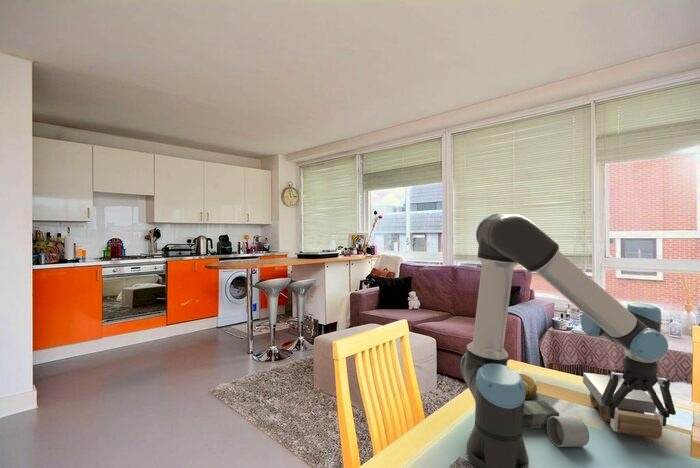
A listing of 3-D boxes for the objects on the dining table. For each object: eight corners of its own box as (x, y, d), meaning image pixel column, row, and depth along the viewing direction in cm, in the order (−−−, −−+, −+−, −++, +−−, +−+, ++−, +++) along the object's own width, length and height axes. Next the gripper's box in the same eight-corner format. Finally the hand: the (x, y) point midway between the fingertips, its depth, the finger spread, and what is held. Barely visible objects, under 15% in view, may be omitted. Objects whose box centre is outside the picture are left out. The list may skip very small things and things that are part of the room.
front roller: (644, 429, 108) (645, 410, 108) (606, 424, 111) (607, 405, 110) (634, 418, 114) (635, 400, 113) (598, 413, 117) (599, 395, 116)
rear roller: (631, 415, 116) (632, 397, 115) (596, 410, 118) (597, 392, 118) (622, 405, 122) (623, 388, 121) (589, 400, 124) (590, 384, 124)
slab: (601, 406, 110) (602, 395, 110) (582, 382, 125) (583, 372, 125) (655, 413, 106) (656, 402, 106) (629, 388, 122) (630, 378, 121)
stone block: (499, 413, 116) (499, 397, 116) (542, 413, 117) (543, 397, 116) (512, 430, 107) (513, 413, 107) (559, 430, 108) (560, 413, 107)
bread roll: (528, 387, 133) (529, 366, 133) (546, 401, 124) (547, 378, 123) (496, 389, 131) (497, 368, 131) (512, 403, 122) (513, 380, 121)
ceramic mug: (591, 452, 98) (592, 424, 97) (563, 453, 97) (564, 426, 96) (564, 429, 108) (565, 404, 108) (538, 430, 107) (539, 405, 107)
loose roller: (611, 424, 108) (612, 406, 107) (650, 430, 105) (651, 412, 105) (619, 435, 102) (620, 417, 102) (661, 442, 100) (662, 423, 99)
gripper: (600, 358, 102) (595, 432, 103) (697, 368, 96) (690, 447, 97) (590, 348, 109) (586, 418, 110) (680, 357, 103) (674, 431, 104)
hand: (635, 432), depth 104 cm, fingers closed on loose roller, 10 cm apart
